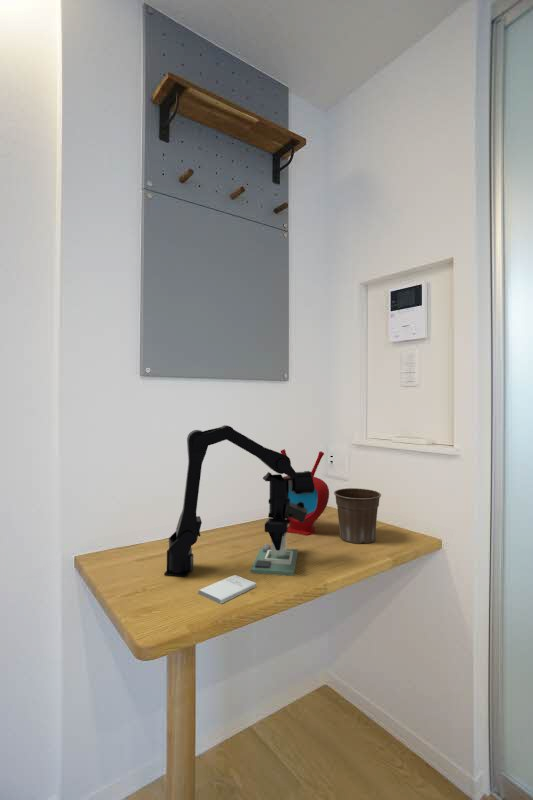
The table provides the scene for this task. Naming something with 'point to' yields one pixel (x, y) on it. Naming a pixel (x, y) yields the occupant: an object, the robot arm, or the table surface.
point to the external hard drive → (227, 589)
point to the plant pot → (357, 514)
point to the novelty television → (309, 503)
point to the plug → (282, 548)
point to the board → (274, 562)
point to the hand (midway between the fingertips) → (278, 547)
